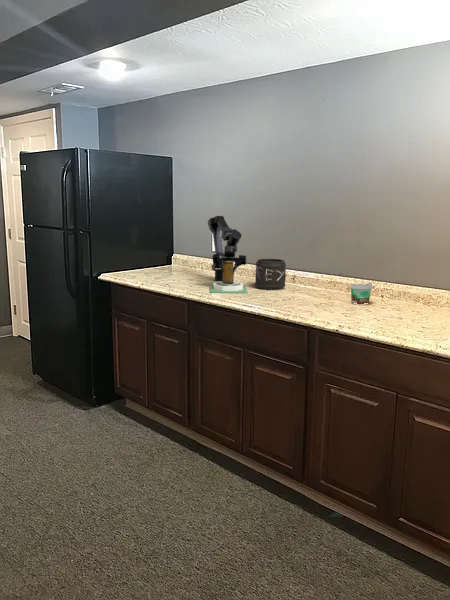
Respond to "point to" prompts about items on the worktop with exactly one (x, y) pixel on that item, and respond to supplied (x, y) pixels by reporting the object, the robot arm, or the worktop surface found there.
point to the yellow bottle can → (228, 273)
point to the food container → (360, 293)
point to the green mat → (227, 291)
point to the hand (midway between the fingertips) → (227, 271)
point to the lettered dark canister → (270, 274)
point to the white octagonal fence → (228, 286)
